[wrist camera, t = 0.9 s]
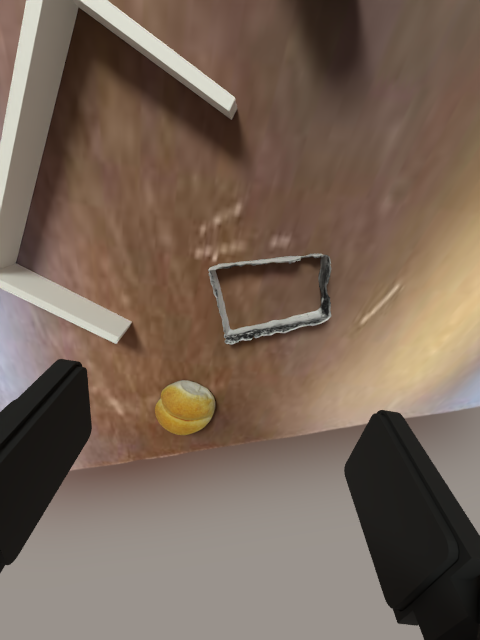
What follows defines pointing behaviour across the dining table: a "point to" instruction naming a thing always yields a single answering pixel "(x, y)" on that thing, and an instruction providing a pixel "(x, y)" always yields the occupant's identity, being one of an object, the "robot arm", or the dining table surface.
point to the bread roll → (185, 407)
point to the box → (32, 129)
